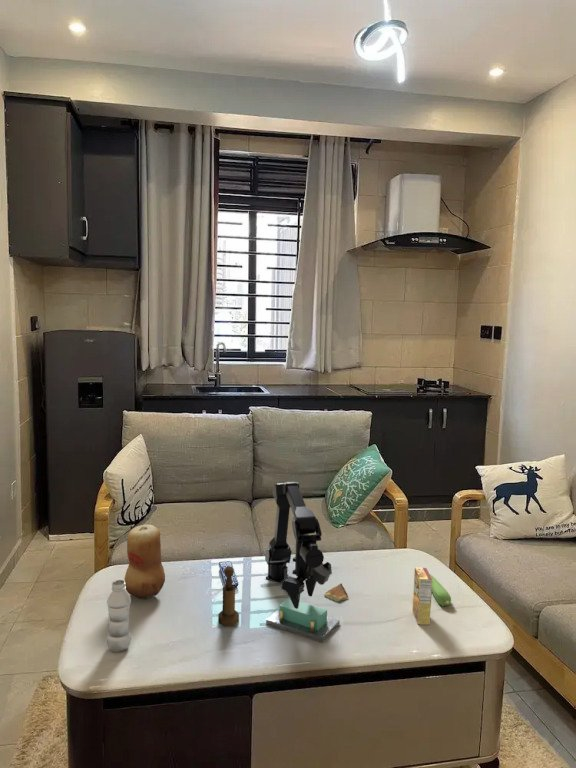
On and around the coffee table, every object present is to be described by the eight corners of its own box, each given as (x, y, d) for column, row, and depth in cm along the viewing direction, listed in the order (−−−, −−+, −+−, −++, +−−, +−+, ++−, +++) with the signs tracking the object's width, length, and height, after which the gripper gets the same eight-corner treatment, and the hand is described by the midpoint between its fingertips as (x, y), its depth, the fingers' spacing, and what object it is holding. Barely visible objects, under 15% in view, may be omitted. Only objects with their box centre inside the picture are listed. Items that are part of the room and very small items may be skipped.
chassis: (266, 623, 180) (266, 610, 179) (285, 607, 190) (285, 595, 190) (322, 642, 170) (322, 628, 170) (339, 624, 180) (339, 611, 180)
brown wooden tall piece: (242, 618, 183) (242, 564, 181) (233, 628, 177) (234, 573, 175) (223, 614, 185) (223, 561, 183) (214, 624, 179) (214, 569, 177)
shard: (341, 586, 207) (341, 582, 207) (358, 593, 202) (358, 588, 202) (323, 597, 199) (323, 592, 199) (341, 604, 194) (341, 599, 194)
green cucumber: (438, 597, 191) (451, 593, 191) (421, 573, 211) (433, 569, 211) (441, 611, 192) (454, 607, 192) (424, 585, 212) (436, 582, 212)
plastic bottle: (109, 642, 168) (108, 577, 166) (133, 641, 168) (132, 577, 166) (104, 655, 161) (103, 588, 159) (129, 654, 162) (128, 587, 160)
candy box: (411, 610, 190) (413, 567, 188) (424, 611, 190) (426, 567, 188) (417, 624, 181) (419, 578, 179) (430, 625, 181) (433, 579, 179)
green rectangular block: (279, 617, 181) (279, 605, 181) (288, 609, 186) (289, 597, 186) (317, 630, 174) (318, 618, 173) (326, 621, 179) (327, 609, 179)
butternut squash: (116, 601, 193) (115, 530, 190) (140, 584, 205) (139, 517, 202) (150, 609, 187) (149, 536, 185) (173, 592, 200) (172, 523, 197)
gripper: (313, 571, 165) (312, 622, 167) (340, 550, 182) (339, 596, 183) (280, 562, 171) (279, 612, 173) (309, 542, 187) (308, 588, 189)
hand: (303, 602), depth 179 cm, fingers open, 9 cm apart
